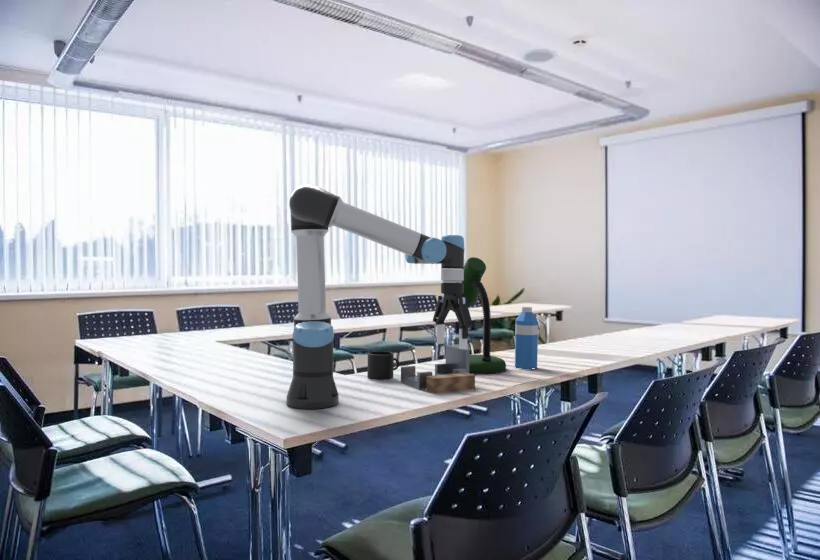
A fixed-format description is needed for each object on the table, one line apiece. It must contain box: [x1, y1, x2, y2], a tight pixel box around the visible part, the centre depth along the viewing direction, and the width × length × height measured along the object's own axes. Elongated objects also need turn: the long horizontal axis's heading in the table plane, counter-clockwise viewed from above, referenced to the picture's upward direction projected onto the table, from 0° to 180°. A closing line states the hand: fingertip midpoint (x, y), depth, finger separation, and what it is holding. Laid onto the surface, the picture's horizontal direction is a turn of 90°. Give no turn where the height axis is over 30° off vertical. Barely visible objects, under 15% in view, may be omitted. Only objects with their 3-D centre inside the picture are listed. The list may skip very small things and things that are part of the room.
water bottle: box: [514, 306, 539, 370], centre depth 228 cm, size 9×9×25 cm
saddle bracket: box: [400, 365, 433, 391], centre depth 191 cm, size 5×13×6 cm, turn 29°
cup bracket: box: [434, 344, 471, 376], centre depth 198 cm, size 6×13×12 cm, turn 29°
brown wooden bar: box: [425, 373, 476, 394], centre depth 185 cm, size 16×4×5 cm, turn 117°
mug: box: [366, 350, 400, 381], centre depth 204 cm, size 9×12×9 cm
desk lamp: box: [461, 256, 507, 375], centre depth 227 cm, size 31×23×45 cm
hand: (451, 346), depth 185 cm, fingers open, 13 cm apart
